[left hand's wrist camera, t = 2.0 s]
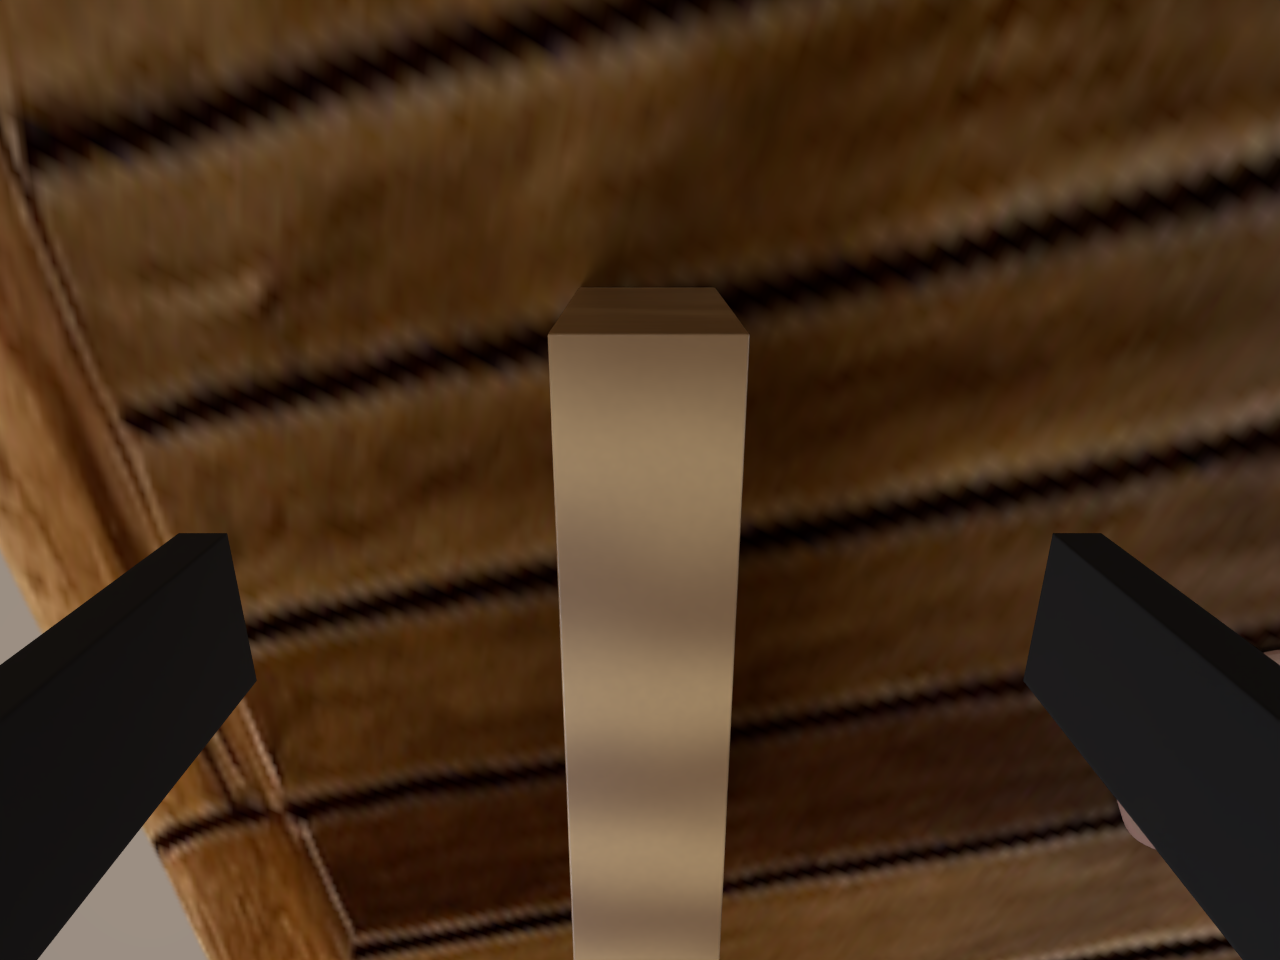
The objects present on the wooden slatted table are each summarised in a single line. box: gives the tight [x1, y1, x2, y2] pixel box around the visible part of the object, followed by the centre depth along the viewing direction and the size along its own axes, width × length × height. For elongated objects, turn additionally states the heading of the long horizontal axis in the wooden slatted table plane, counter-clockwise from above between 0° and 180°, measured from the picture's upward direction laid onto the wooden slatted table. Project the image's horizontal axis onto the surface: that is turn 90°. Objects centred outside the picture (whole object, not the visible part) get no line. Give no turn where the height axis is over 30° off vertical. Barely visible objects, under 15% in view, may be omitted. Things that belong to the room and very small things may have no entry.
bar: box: [548, 287, 750, 960], centre depth 25 cm, size 22×4×9 cm, turn 0°
